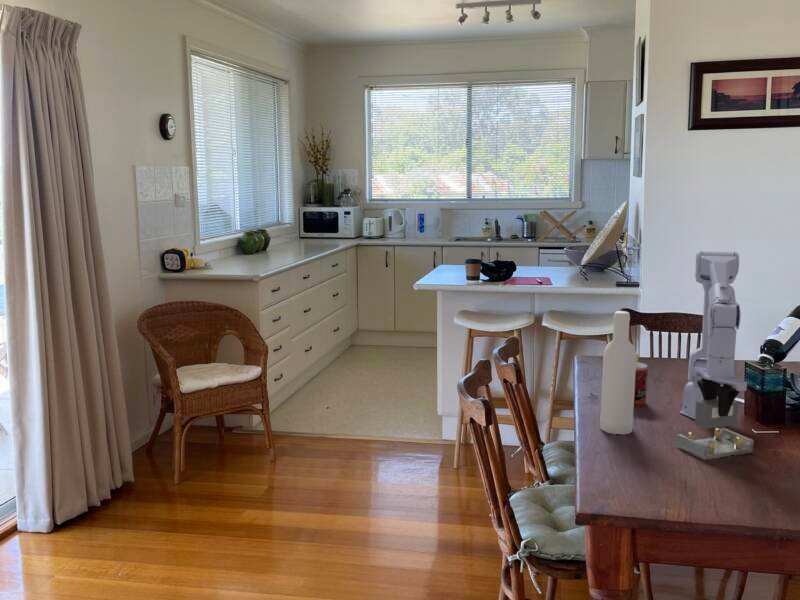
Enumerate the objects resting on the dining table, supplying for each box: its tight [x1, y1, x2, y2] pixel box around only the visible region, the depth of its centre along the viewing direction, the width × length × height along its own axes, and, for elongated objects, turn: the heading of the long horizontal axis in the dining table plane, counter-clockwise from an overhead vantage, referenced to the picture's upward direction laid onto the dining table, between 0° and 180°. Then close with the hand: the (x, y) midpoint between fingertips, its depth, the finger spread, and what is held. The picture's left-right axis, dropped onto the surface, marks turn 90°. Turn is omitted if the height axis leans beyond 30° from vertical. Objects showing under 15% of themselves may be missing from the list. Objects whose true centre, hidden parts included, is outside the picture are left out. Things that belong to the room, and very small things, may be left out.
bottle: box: [599, 310, 637, 436], centre depth 188 cm, size 8×8×30 cm
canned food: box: [634, 361, 649, 407], centre depth 212 cm, size 8×8×11 cm
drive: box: [694, 399, 739, 430], centre depth 175 cm, size 4×9×6 cm, turn 110°
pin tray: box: [675, 427, 754, 461], centre depth 176 cm, size 9×14×4 cm, turn 110°
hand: (716, 413), depth 175 cm, fingers closed on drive, 4 cm apart
